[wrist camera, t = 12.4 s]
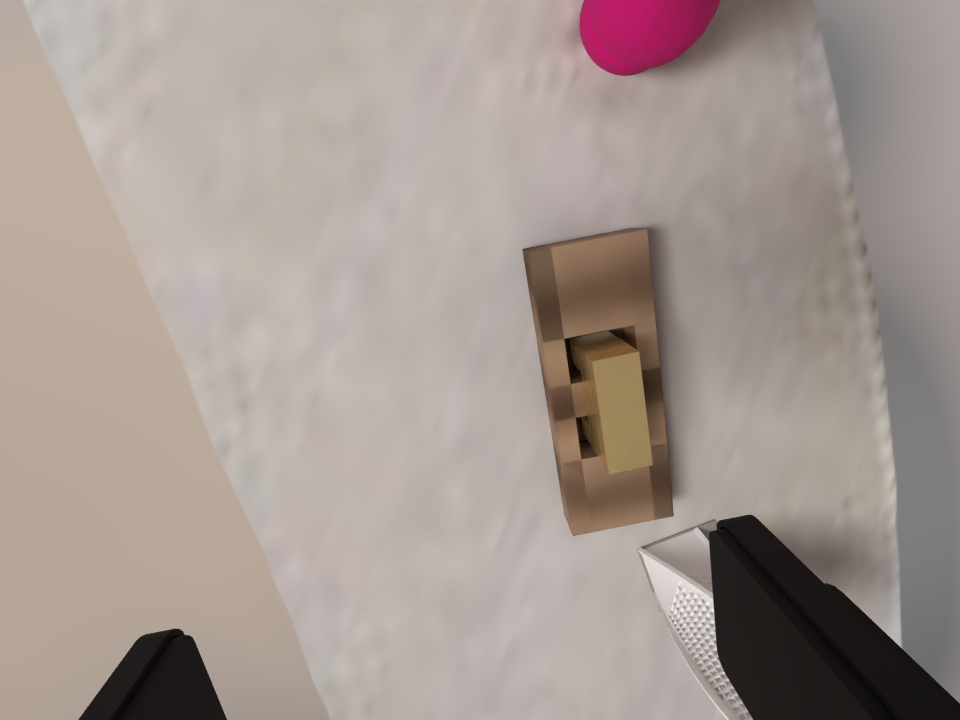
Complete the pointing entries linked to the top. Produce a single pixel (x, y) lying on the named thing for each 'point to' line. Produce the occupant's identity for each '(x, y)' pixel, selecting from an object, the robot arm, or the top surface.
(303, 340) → the top surface
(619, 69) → the pepper mill
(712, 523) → the skyscraper
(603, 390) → the tan rectangular block
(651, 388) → the rail
